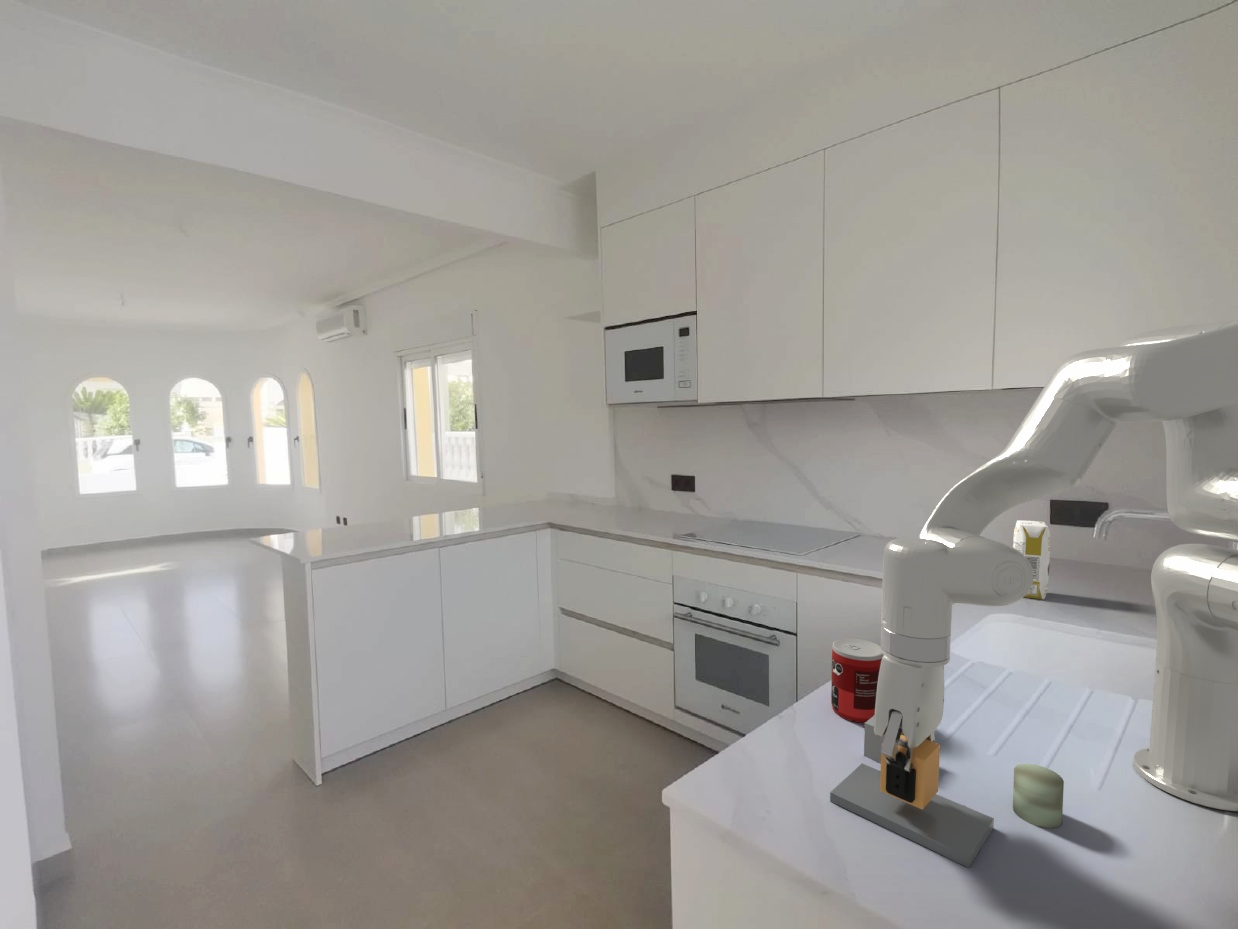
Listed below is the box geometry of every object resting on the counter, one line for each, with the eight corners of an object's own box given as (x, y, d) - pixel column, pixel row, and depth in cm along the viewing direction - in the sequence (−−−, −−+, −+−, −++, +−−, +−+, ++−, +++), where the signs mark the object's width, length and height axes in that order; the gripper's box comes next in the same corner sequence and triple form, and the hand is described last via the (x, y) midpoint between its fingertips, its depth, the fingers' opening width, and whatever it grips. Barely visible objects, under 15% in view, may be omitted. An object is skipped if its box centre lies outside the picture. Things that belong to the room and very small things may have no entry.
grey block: (879, 743, 92) (880, 710, 91) (913, 756, 88) (914, 723, 88) (863, 756, 88) (864, 723, 88) (899, 771, 85) (900, 736, 84)
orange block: (896, 773, 79) (898, 729, 78) (938, 791, 75) (940, 744, 75) (880, 791, 75) (881, 744, 75) (922, 809, 72) (924, 761, 71)
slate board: (861, 771, 84) (861, 763, 84) (993, 827, 73) (993, 818, 73) (830, 801, 78) (830, 792, 78) (968, 868, 67) (969, 857, 67)
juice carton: (1013, 597, 159) (1016, 524, 157) (1010, 588, 166) (1013, 519, 165) (1048, 601, 155) (1052, 527, 153) (1043, 592, 163) (1047, 521, 161)
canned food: (840, 696, 106) (841, 634, 105) (888, 710, 101) (890, 645, 100) (823, 713, 100) (824, 648, 99) (874, 729, 95) (876, 661, 94)
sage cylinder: (1016, 796, 79) (1017, 759, 78) (1064, 812, 76) (1065, 773, 75) (1009, 816, 75) (1010, 777, 75) (1059, 834, 72) (1061, 793, 71)
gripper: (910, 617, 82) (905, 747, 84) (851, 654, 70) (847, 804, 72) (972, 632, 77) (966, 770, 78) (920, 674, 65) (914, 835, 67)
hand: (909, 785), depth 75 cm, fingers closed on orange block, 5 cm apart
